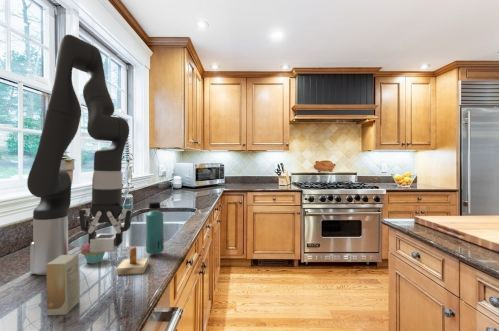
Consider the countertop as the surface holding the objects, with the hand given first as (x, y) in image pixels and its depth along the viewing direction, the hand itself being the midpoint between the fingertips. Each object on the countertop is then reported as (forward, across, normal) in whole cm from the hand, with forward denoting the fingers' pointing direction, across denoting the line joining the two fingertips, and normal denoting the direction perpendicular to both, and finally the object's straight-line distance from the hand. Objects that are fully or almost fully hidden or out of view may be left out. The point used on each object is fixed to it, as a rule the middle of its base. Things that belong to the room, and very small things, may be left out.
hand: (105, 245), depth 80 cm
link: (+1, 0, 0) cm, 1 cm away
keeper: (+11, +5, +12) cm, 17 cm away
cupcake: (+12, -10, +21) cm, 27 cm away
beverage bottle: (+12, +9, +25) cm, 29 cm away
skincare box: (+12, -5, -12) cm, 18 cm away
